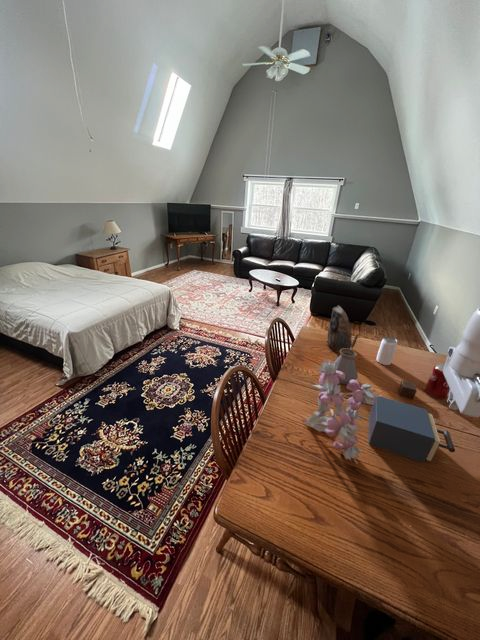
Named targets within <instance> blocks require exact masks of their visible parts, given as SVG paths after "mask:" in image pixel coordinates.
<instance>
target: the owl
mask: <svg viewBox="0 0 480 640" xmlns="http://www.w3.org/2000/svg"><path fill="white" fill-rule="evenodd" d="M331 312H332V313H331V315H330V316H331V319H330V321H329V327H327V340H326V345H327V348H328V347H329V348H330V349H329V348H328V349H329V350H331V349H332V350H331V351H333V352H334V353H338V352H340V350H341V349H343V348H347V349H350V348H351V345H352V342H353V340H352V332H351V323H350V321H349V317H348V315H347V313H346V311H345V310H344V309H343V308H342V307H341V306H340V305H339V304H338V305H337V306H334V307H333V308H332V309H331ZM337 351H338V352H337Z"/></svg>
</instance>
